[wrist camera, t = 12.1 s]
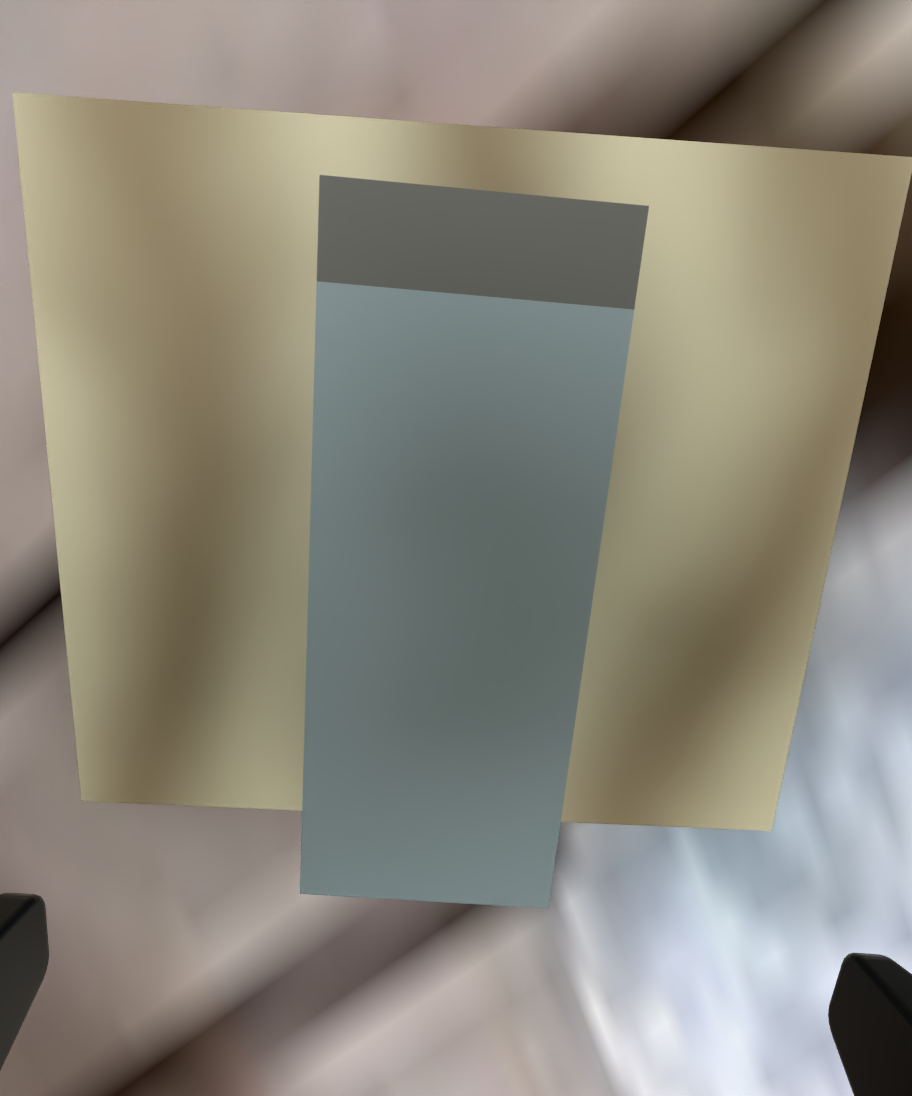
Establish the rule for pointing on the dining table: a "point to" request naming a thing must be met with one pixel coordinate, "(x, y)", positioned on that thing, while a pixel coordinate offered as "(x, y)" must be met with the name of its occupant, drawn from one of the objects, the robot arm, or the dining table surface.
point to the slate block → (455, 528)
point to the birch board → (287, 425)
